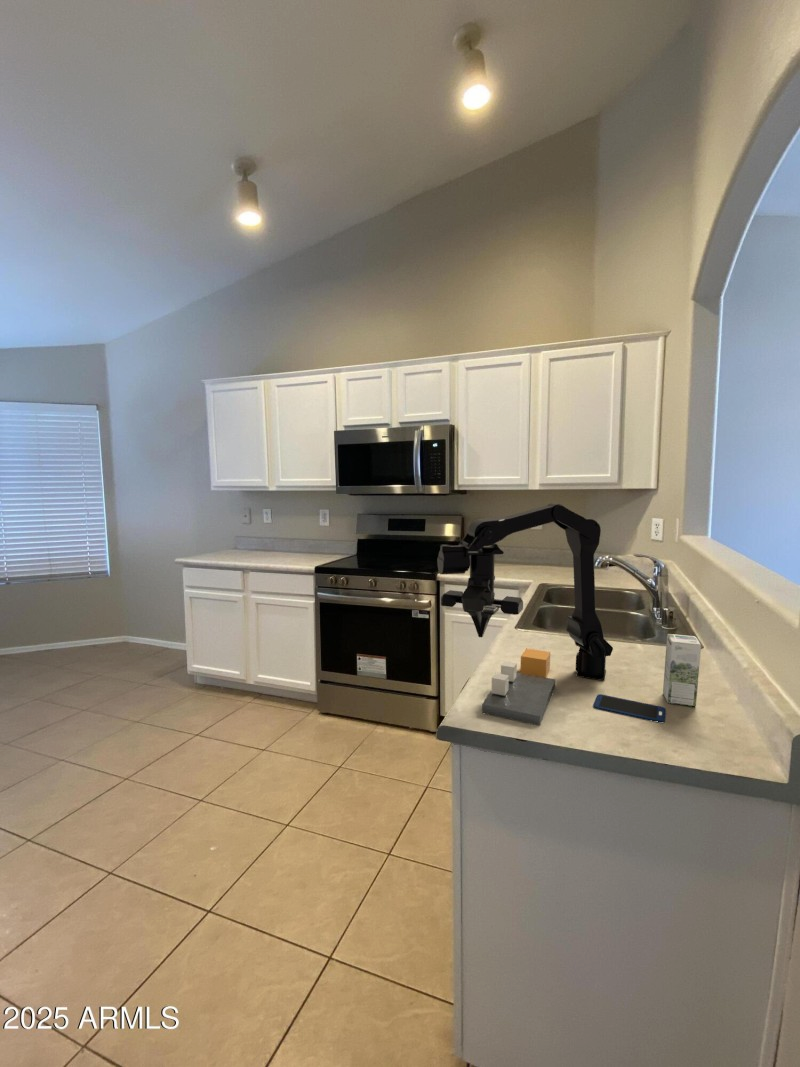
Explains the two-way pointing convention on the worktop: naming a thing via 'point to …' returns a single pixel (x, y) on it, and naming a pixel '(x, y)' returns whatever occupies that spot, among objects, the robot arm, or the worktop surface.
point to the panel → (522, 699)
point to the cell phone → (630, 708)
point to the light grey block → (509, 670)
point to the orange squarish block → (535, 662)
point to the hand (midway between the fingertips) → (480, 636)
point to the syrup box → (681, 669)
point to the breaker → (500, 684)
